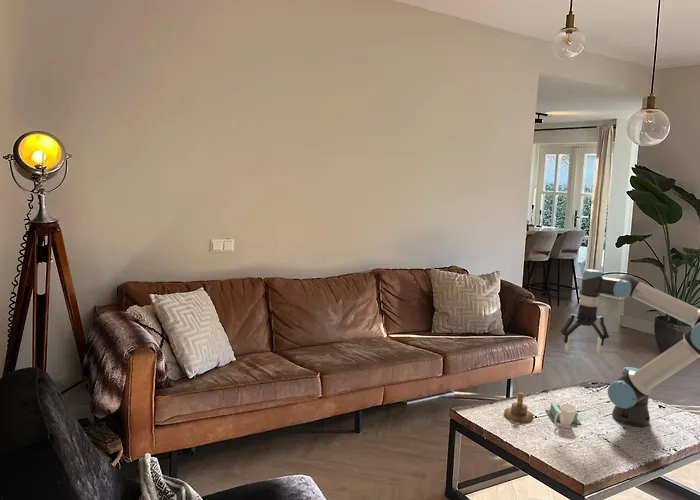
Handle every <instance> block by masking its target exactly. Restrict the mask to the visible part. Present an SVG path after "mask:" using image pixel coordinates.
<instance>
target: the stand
mask: <svg viewBox="0 0 700 500" xmlns="http://www.w3.org/2000/svg"><path fill="white" fill-rule="evenodd" d="M517 394H518V395H517V401H516V402H512V403H511V407H507V408H505V409H504V412H503V413H504V414H503V415H504V417H505V418H507V419H508V420H510V421H513V422H516V423H530V422H532V421H533V419H534V415H533V413H532V412H531V411H529V410H528V405H526V404H525V403H523V402H524V401H523V400H524V392H518V393H517Z"/></svg>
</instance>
